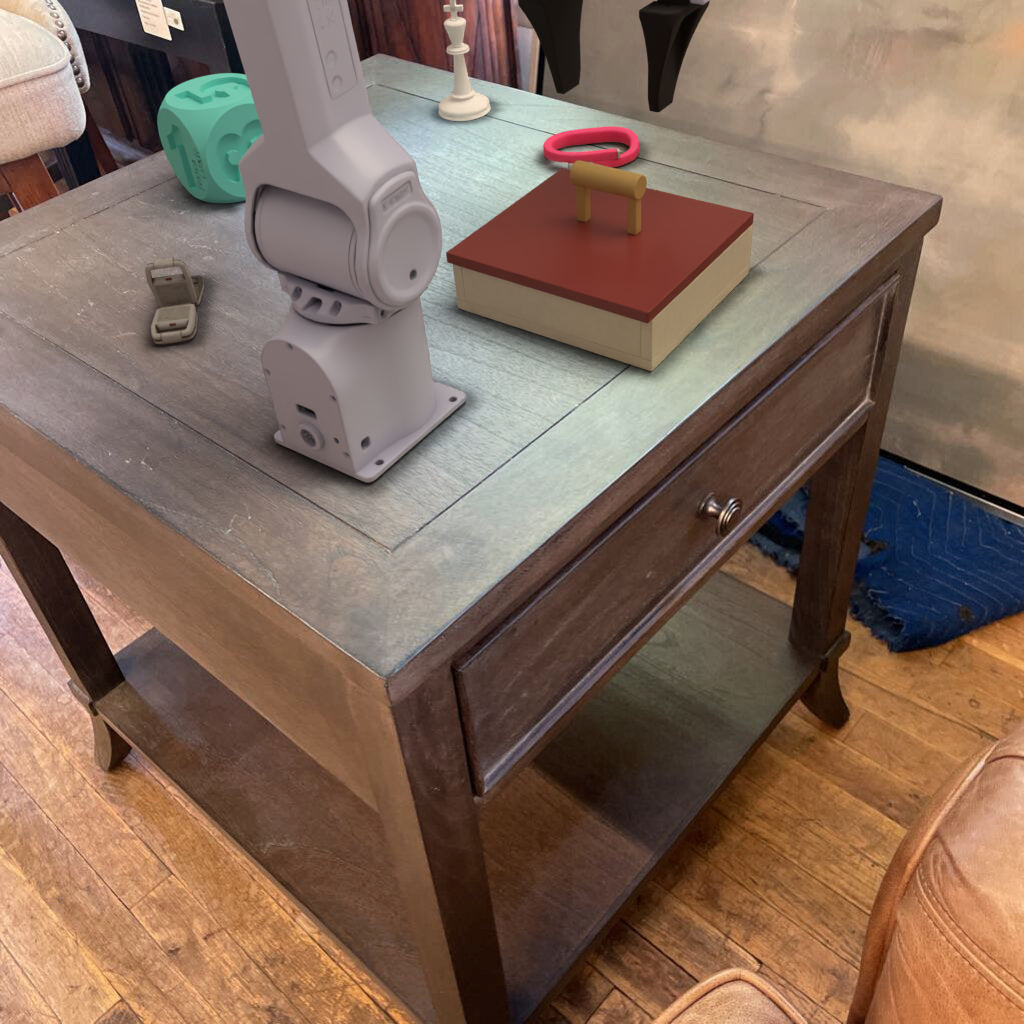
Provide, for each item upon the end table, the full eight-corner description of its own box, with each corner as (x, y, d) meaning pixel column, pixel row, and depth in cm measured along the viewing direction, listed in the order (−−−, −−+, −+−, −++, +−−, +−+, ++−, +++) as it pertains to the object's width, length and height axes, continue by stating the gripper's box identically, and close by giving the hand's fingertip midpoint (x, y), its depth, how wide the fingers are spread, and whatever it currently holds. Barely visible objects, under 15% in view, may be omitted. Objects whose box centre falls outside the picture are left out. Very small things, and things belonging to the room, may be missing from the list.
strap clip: (195, 342, 75) (178, 289, 72) (152, 348, 75) (133, 295, 72) (206, 280, 81) (190, 229, 78) (166, 285, 81) (149, 234, 78)
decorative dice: (173, 185, 94) (145, 94, 88) (252, 154, 97) (229, 64, 92) (218, 213, 89) (191, 119, 84) (299, 180, 93) (278, 87, 87)
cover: (648, 324, 65) (648, 251, 62) (446, 262, 72) (437, 195, 69) (753, 223, 73) (758, 154, 70) (562, 177, 80) (559, 113, 77)
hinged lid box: (651, 372, 68) (652, 320, 65) (457, 308, 75) (451, 260, 73) (749, 273, 76) (753, 224, 73) (564, 224, 83) (562, 178, 80)
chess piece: (484, 121, 99) (473, 7, 92) (432, 121, 100) (417, 8, 93) (495, 100, 102) (485, -12, 95) (445, 99, 103) (432, -11, 96)
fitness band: (545, 174, 90) (544, 157, 89) (542, 145, 94) (541, 128, 93) (642, 166, 89) (642, 149, 88) (635, 137, 94) (635, 120, 92)
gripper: (747, -131, 65) (733, 93, 74) (549, -145, 72) (558, 62, 81) (691, -101, 61) (683, 132, 70) (486, -118, 68) (504, 96, 77)
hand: (613, 97), depth 75 cm, fingers open, 7 cm apart
